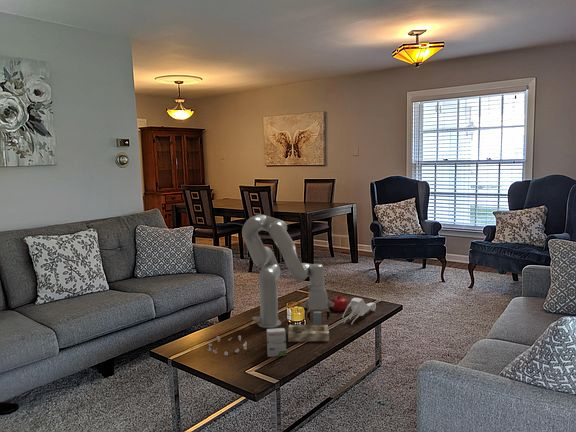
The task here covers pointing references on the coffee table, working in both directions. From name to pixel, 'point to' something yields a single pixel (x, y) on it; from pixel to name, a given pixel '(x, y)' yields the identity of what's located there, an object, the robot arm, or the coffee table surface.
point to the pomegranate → (339, 303)
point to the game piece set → (226, 352)
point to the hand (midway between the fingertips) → (318, 318)
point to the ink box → (276, 342)
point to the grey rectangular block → (317, 318)
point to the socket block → (308, 333)
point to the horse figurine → (359, 308)
